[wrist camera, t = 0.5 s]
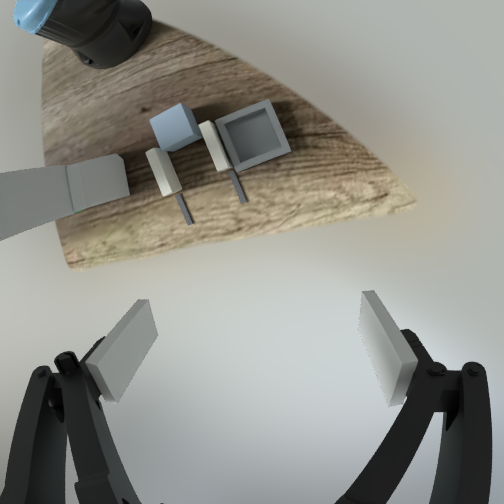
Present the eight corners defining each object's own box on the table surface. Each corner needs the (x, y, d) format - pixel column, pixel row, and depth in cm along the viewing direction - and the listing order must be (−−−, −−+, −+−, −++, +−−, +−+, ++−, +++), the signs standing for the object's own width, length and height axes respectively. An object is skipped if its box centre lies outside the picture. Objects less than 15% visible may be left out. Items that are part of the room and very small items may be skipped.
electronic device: (80, 211, 44) (-55, 266, 15) (72, 172, 42) (-68, 202, 13) (134, 196, 42) (-22, 250, 14) (125, 152, 40) (-36, 161, 12)
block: (162, 124, 39) (149, 119, 34) (191, 109, 38) (180, 103, 33) (173, 151, 40) (161, 150, 35) (203, 137, 39) (193, 134, 34)
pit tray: (218, 123, 38) (214, 120, 35) (269, 103, 36) (268, 98, 34) (239, 171, 40) (236, 172, 37) (290, 152, 38) (291, 151, 36)
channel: (157, 153, 40) (145, 152, 36) (215, 124, 38) (208, 120, 34) (174, 193, 42) (163, 196, 37) (233, 166, 40) (228, 167, 35)
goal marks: (176, 195, 42) (175, 196, 41) (233, 170, 40) (233, 170, 40) (188, 225, 43) (188, 225, 43) (246, 201, 41) (246, 201, 41)
